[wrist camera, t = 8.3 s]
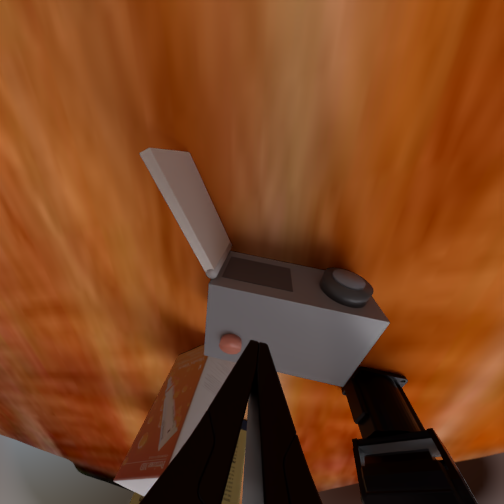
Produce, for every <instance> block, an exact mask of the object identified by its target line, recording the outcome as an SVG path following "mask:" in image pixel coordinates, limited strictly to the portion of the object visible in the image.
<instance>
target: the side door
mask: <svg viewBox="0 0 504 504" xmlns="http://www.w3.org/2000/svg"><path fill="white" fill-rule="evenodd" d="M139 154H140V156H141V157H142V159H143V161H144V163H145V165H146V166H147V168H148V170H149V172H150V174H151V175H152V177H153V179H154V181H155V183H156V184H157V186H158V188H159V190H160V192H161V193H162V195H163V197H164V199H165V201H166V202H167V204H168V206H169V208H170V210H171V211H172V213H173V215H174V217H175V219H176V220H177V222H178V224H179V226H180V228H181V229H182V231H183V233H184V235H185V237H186V238H187V240H188V242H189V244H190V246H191V247H192V249H193V251H194V253H195V255H196V256H197V258H198V260H199V262H200V264H201V265H202V267H203V269H204V271H205V272H206V275H207V277H208V278H211V279H214V278H216V277H217V275H218V273H219V271H220V269H221V267H222V265H223V263H224V261H225V259H226V258H227V256H228V254H229V252H230V250H231V248H232V243H231V242H230V240H229V238H228V236H227V233H226V231H225V229H224V227H223V225H222V222H221V220H220V218H219V216H218V214H217V212H216V209H215V207H214V205H213V203H212V201H211V198H210V196H209V194H208V192H207V190H206V187H205V185H204V183H203V181H202V179H201V177H200V174H199V172H198V170H197V168H196V166H195V163H194V161H193V159H192V157H191V155H190V153H189V152H184V151H175V150H166V149H157V148H148V149H146V150H144V151H142V152H140V153H139Z"/></svg>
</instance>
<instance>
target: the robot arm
mask: <svg viewBox="0 0 504 504" xmlns="http://www.w3.org/2000/svg"><path fill="white" fill-rule="evenodd" d="M407 382H408V380H407V379H406V377H405V376H401V375H396V374H392V373H387V372H383V371H378V370H374V369H369V368H365V367H359V368H357V370H356V371H355V372H354V374H353V375H352V377H351V378H350V379H349V381H348V382H347V383H346V385H345V386H344V387H343V389H342V394H343V395H346V396H347V399H348V403H349V406H350V409H351V413H352V416H353V419H354V422H355V423H356V424H358V426H359V429H360V432H361V435H362V438H363V439H357V438H356V439H352V442H353V447H354V448H353V452H354V458H355V464H356V469H357V475H358V481H359V487H360V495H361V501H362V503H363V504H478V503H477V501H476V499H475V498H474V496H473V494H472V492H471V490H470V489H469V487H468V485H467V483H466V481H465V480H464V478H463V476H462V474H461V473H460V471H459V469H458V468H457V466H456V465H455V463H454V461H453V459H452V458H451V456H450V454H449V453H448V451H447V449H446V448H445V446H444V445H443V443H442V442H441V440H440V439H439V437H438V436H437V434H436V433H435V431H434V430H433V428H429V429H427V430H425V429H424V427H423V425H422V424H421V422H420V420H419V418H418V416H417V415H416V413H415V411H414V409H413V407H412V405H411V404H410V402H409V400H408V398H407V396H406V395H405V393H404V391H403V389H402V387H403V386H404V385H405V384H406V383H407ZM248 399H249V400H248ZM247 403H248V416H247V433H246V449H245V465H244V481H243V497H242V504H322V501H321V499H320V496H319V494H318V491H317V489H316V486H315V484H314V481H313V479H312V476H311V473H310V471H309V468H308V465H307V462H306V460H305V457H304V454H303V451H302V448H301V445H300V442H299V439H298V436H297V435H296V430H295V427H294V424H293V421H292V418H291V414H290V411H289V408H288V405H287V402H286V399H285V396H284V393H283V390H282V387H281V384H280V381H279V377H278V374H277V371H276V368H275V365H274V362H273V359H272V356H271V353H270V350H269V347H268V344H267V343H263V342H258V341H255V340H250V341H249V343H248V344H247V346H246V348H245V349H244V351H243V352H242V354H241V356H240V357H239V359H238V361H237V362H236V364H235V365H234V367H233V369H232V370H231V372H230V373H229V375H228V377H227V378H226V380H225V382H224V383H223V385H222V386H221V388H220V390H219V391H218V393H217V394H216V396H215V398H214V399H213V401H212V403H211V404H210V406H209V407H208V410H207V411H206V412H205V414H204V415H203V417H202V419H201V420H200V422H199V423H198V425H197V426H196V428H195V429H194V431H193V432H192V434H191V435H190V437H189V438H188V440H187V441H186V442H185V444H184V445H183V446H182V448H181V449H180V451H179V452H178V453H177V455H176V456H175V457H174V459H173V460H172V461H171V462H170V464H169V465H168V466H167V468H166V469H165V470H164V472H163V473H162V474H161V475H160V477H159V478H158V479H157V481H156V482H155V483H154V485H153V486H152V487H151V489H150V490H149V491H148V492H147V494H146V495H145V496H144V498H143V499H142V500H141V501H140V503H139V504H222V500H223V496H224V492H225V488H226V485H227V481H228V477H229V473H230V469H231V465H232V461H233V457H234V453H235V450H236V446H237V442H238V438H239V434H240V430H241V426H242V422H243V418H244V415H245V411H246V407H247ZM440 456H442V458H443V460H436V459H435V457H440Z"/></svg>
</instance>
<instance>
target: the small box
mask: <svg viewBox="0 0 504 504" xmlns="http://www.w3.org/2000/svg"><path fill="white" fill-rule="evenodd" d="M204 345H205V344H204ZM204 345H201V346H199V347H197V348H195V349H192V350H190V351H188V352H185V353H183V354H180V355H178V357H177V359H176V361H175V363H174V365H173V367H172V369H171V371H170V373H169V375H168V376H167V378H166V380H165V382H164V384H163V386H162V388H161V390H160V392H159V394H158V396H157V398H156V400H155V402H154V404H153V405H152V407H151V409H150V411H149V413H148V415H147V417H146V419H145V421H144V423H143V425H142V427H141V429H140V431H139V433H138V434H137V436H136V438H135V440H134V442H133V444H132V446H131V448H130V450H129V452H128V454H127V456H126V458H125V460H124V462H123V463H122V465H121V467H120V469H119V471H118V473H117V475H116V477H115V479H114V482H116V483H118V484H120V485H122V486H124V487H126V488H128V489H130V490H132V491H134V492H136V493H138V494H140V495H142V496H145V495H146V494H147V492H148V491H149V490H150V489H151V487H152V486H153V485H154V483H155V482H156V481H157V479H158V478H159V477H160V475H161V474H162V473H163V472H164V470H165V469H166V468H167V466H168V465H169V464H170V462H171V461H172V460H173V459H174V457H175V456H176V455H177V453H178V452H179V451H180V449H181V448H182V446H183V445H184V444H185V442H186V441H187V440H188V438H189V437H190V435H191V434H192V432H193V431H194V429H195V428H196V426H197V425H198V423H199V422H200V420H201V419H202V417H203V415H204V414H205V412H206V411H207V410H208V407H209V406H210V404H211V403H212V401H213V399H214V398H215V396H216V394H217V393H218V391H219V390H220V388H221V386H222V385H223V383H224V382H225V380H226V378H227V377H228V375H229V373H230V372H231V370H232V369H233V367H234V365H235V364H236V362H231V361H227V360H222V359H218V358H214V357H209V356H205V355H204Z"/></svg>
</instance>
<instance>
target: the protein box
mask: <svg viewBox="0 0 504 504" xmlns="http://www.w3.org/2000/svg"><path fill="white" fill-rule="evenodd" d="M246 433H247V421H245V420H243V422H242V426H241V430H240V434H239V438H238V442H237V446H236V450H235V453H234V457H233V461H232V465H231V469H230V473H229V477H228V481H227V485H226V488H225V492H224V496H223V500H222V504H239V500H240V491H241V482H242V473H243V465H244V456H245V448H246ZM143 498H144V496H142V495H140V494H138V493H136V492H134V494H133V497H132V499H131V501H130V504H139V503H140V501H141V500H142V499H143Z"/></svg>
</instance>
